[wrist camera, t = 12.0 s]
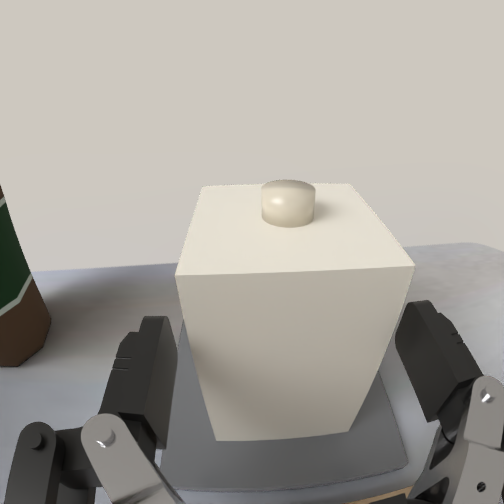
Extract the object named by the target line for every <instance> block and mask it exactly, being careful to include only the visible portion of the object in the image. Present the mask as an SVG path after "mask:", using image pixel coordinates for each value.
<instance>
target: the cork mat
mask: <svg viewBox="0 0 504 504" xmlns="http://www.w3.org/2000/svg"><path fill="white" fill-rule="evenodd" d="M413 486H414V485H413ZM413 486H410V487H407V488H404V489H400V490H397V491H394V492H390V493H386V494H383V495H379V496H375V497H371V498H367V499H362V500H358V501H353V502H348V503H343V504H369V503H371V502H374V501H378V500H382V499H385V498H389V497H392V496H396V495H399V494H402V493H405V495H406V498H407V497H408V495H409V493H410V491H411V489H412V487H413Z"/></svg>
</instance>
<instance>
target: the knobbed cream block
mask: <svg viewBox="0 0 504 504" xmlns="http://www.w3.org/2000/svg"><path fill="white" fill-rule="evenodd" d="M415 266H416V265H415V264H414V263H413V261H412V260H411V258H410V257H409V256H408V254H407V253H406V252H405V250H404V249H403V248H402V247H401V245H400V244H399V243H398V241H397V240H396V239H395V238H394V236H393V235H392V234H391V233H390V231H389V230H388V229H387V228H386V226H385V225H384V224H383V222H382V221H381V220H380V219H379V218H378V216H377V215H376V214H375V213H374V211H373V210H372V209H371V208H370V207H369V206H368V205H367V203H366V202H365V201H364V200H363V199H362V197H361V196H360V195H359V194H358V193H357V191H356V190H355V189H354V188H353V187H352V186H351V185H350V184H320V183H319V184H318V183H312V184H308V183H305V182H302V181H296V180H276V181H272V182H268V183H266V184H251V185H249V184H248V185H222V186H204V187H203V188H202V191H201V193H200V196H199V199H198V202H197V205H196V208H195V211H194V214H193V218H192V220H191V224H190V227H189V230H188V233H187V236H186V239H185V243H184V246H183V249H182V252H181V256H180V259H179V262H178V266H177V269H176V272H175V280H176V285H177V290H178V295H179V299H180V304H181V309H182V313H183V318H184V322H185V327H186V331H187V335H188V339H189V344H190V348H191V352H192V356H193V360H194V364H195V368H196V372H197V375H198V379H199V383H200V387H201V390H202V394H203V398H204V401H205V405H206V408H207V412H208V415H209V418H210V422H211V425H212V428H213V432H214V435H215V438H216V441H255V440H276V439H290V438H301V437H311V436H320V435H328V434H335V433H342V432H348V431H349V429H350V427H351V425H352V423H353V421H354V419H355V417H356V416H357V414H358V412H359V410H360V408H361V406H362V404H363V401H364V399H365V397H366V395H367V393H368V391H369V389H370V387H371V385H372V382H373V380H374V378H375V376H376V373H377V371H378V369H379V367H380V364H381V362H382V359H383V357H384V355H385V352H386V350H387V347H388V345H389V342H390V340H391V337H392V335H393V332H394V329H395V327H396V324H397V321H398V319H399V316H400V313H401V310H402V307H403V304H404V301H405V298H406V295H407V292H408V289H409V286H410V283H411V280H412V277H413V273H414V270H415Z"/></svg>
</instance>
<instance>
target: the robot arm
mask: <svg viewBox="0 0 504 504" xmlns="http://www.w3.org/2000/svg"><path fill="white" fill-rule="evenodd" d="M395 344H396V349H397V351H398V353H399V356H400V358H401V360H402V362H403V365H404V367H405V369H406V371H407V374H408V376H409V378H410V381H411V383H412V386H413V388H414V390H415V393H416V395H417V398H418V400H419V403H420V405H421V408H422V410H423V413H424V415H425V418H426V420H427V423H428V422H431V421H435V420H438V419H439V421H440V425H439V427H438V429H437V432H436V435H435V438H434V441H433V444H432V447H431V450H430V453H429V456H428V459H427V462H426V465H425V467H424V470H423V472H422V474H421V476H420V477H419V479H418V480H417V481H416V483H415V484H414V486H413V487H412V489H411V491H410V493H409V495H408V497H407V498H406V495H405V493H402V494H399V495H396V496H392V497H389V498H385V499H382V500H378V501H374V502H371V503H369V504H499V500H500V496H501V495H502V499H503V503H504V387H503V385H502V384H501V383H500V382H499V381H498V380H497V379H495V378H494V377H491V376H484V375H483V374H482V372H481V370H480V368H479V367H478V365H477V363H476V361H475V360H474V358H473V356H472V355H471V353H470V351H469V350H468V348H467V346H466V345H465V343H463V340H462V338H461V336H460V335H458V332H457V330H456V328H455V327H454V325H453V324H452V322H451V321H450V320H449V319H447V318H446V317H445V316H444V315H443V314H441V313H438V312H437V311H436V309H435V308H434V306H433V305H432V303H431V302H430V301H428V300H425V301H417V302H409V303H408V304H407V305H406V308H405V310H404V313H403V316H402V319H401V321H400V324H399V327H398V329H397V332H396V336H395ZM177 364H178V354H177V347H176V343H175V340H174V336H173V333H172V329H171V325H170V322H169V319H168V317H167V316H145V317H144V318H143V320H142V323H141V326H140V330H139V332H129V333H128V335H127V336H126V337H125V338H124V339H123V341H122V342H121V343H120V345H119V348H118V351H117V354H116V359H115V361H114V364H113V367H112V368H113V370H111V373H110V377H109V380H108V383H107V387H106V390H105V394H104V397H103V401H102V404H101V408H100V410H99V412H98V414H97V415H96V416H94V417H92V418H90V419H89V420H88V421H87V422H86V423H85V425H84V426H83V427H80V428H74V429H66V430H58V431H54V430H53V429H52V428H51V427H50V426H49V425H47V424H45V423H43V422H33V423H31V424H29V425H27V426H26V427H25V428H24V429H23V430H22V431H21V433H20V436H19V438H18V442H17V446H16V450H15V453H14V457H13V462H12V466H11V470H10V475H9V479H8V484H7V489H6V495H5V500H4V504H94V502H95V492H96V487H104V489H105V491H106V493H107V495H108V496H109V498H110V500H111V502H112V504H185V502H184V501H183V500H182V499H181V497H180V496H179V495H178V493H177V492H176V491H175V489H174V488H173V487H172V485H171V484H170V483H169V481H168V480H167V479H166V477H165V476H164V474H163V473H162V471H161V470H160V469H159V467H158V466H157V464H156V463H155V461H154V459H155V451H156V449H165V450H166V447H167V438H168V430H169V422H170V414H171V406H172V399H173V392H174V385H175V378H176V371H177Z"/></svg>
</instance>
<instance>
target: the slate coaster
mask: <svg viewBox="0 0 504 504" xmlns="http://www.w3.org/2000/svg"><path fill="white" fill-rule="evenodd" d="M177 354H178V364H177V371H176V378H175V385H174V392H173V399H172V406H171V414H170V422H169V430H168V438H167V447H166V450H165V449H163V450H162V458H161V466H160V470H161V471H162V473H163V474H164V476H165V477H166V479H167V480H168V481H169V483H170V484H171V485H172V487H173V488H174V489H178V490H191V491H210V492H256V491H275V490H288V489H298V488H307V487H315V486H322V485H328V484H335V483H340V482H346V481H351V480H356V479H361V478H365V477H370V476H374V475H378V474H382V473H386V472H390V471H394V470H397V469H401V468H403V467H404V466H405V465H406V464H408V460H407V457H406V453H405V450H404V447H403V443H402V440H401V437H400V434H399V431H398V427H397V424H396V421H395V418H394V415H393V412H392V409H391V406H390V403H389V400H388V397H387V394H386V391H385V388H384V386H383V383H382V380H381V377H380V374H379V372H378V371H377V373H376V376H375V378H374V380H373V382H372V385H371V387H370V389H369V391H368V393H367V395H366V397H365V399H364V401H363V404H362V406H361V408H360V410H359V412H358V414H357V416H356V417H355V419H354V421H353V423H352V425H351V427H350V429H349V431H348V432H342V433H335V434H328V435H320V436H311V437H301V438H290V439H276V440H255V441H216V438H215V435H214V432H213V428H212V425H211V422H210V418H209V415H208V412H207V408H206V405H205V401H204V398H203V394H202V390H201V387H200V383H199V379H198V375H197V372H196V368H195V364H194V360H193V356H192V352H191V348H190V344H189V339H188V335H187V331H186V327H185V322H184V318H183V324H182V329H181V334H180V340H179V345H178V351H177Z"/></svg>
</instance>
